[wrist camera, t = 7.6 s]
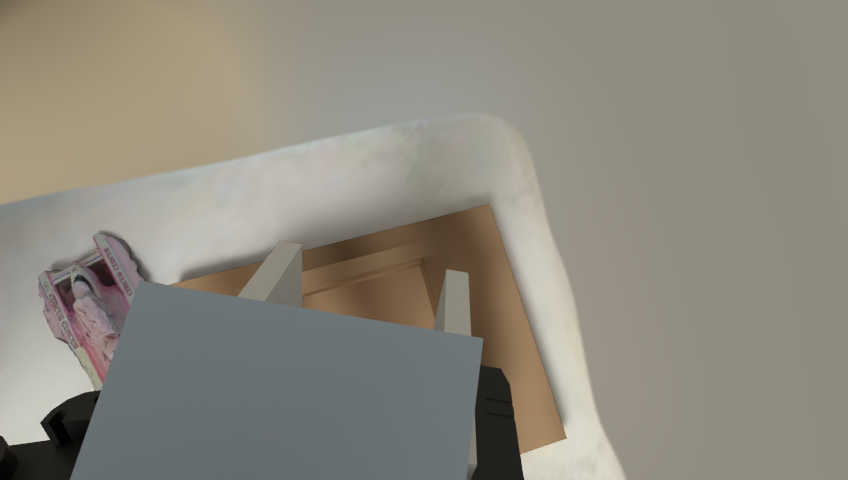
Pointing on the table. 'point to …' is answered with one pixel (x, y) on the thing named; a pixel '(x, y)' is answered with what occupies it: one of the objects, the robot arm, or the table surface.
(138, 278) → the pink elongated piece
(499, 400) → the robot arm
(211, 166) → the table surface
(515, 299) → the tray
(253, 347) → the block
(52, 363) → the table surface
